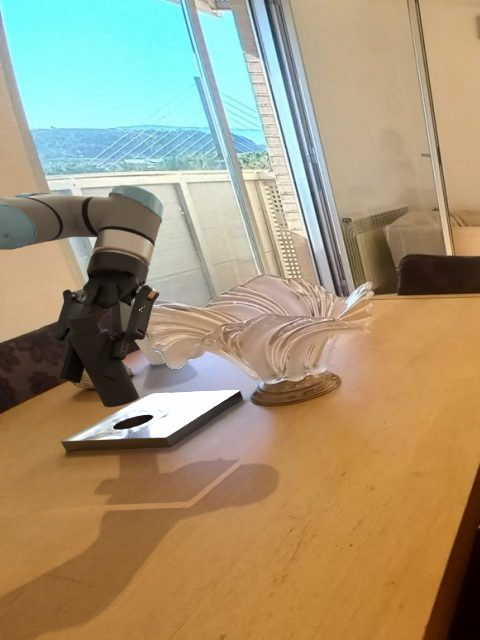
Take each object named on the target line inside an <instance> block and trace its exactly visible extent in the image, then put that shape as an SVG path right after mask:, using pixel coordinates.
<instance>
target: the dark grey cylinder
mask: <svg viewBox="0 0 480 640" xmlns="http://www.w3.org/2000/svg"><path fill="white" fill-rule="evenodd" d="M67 320H68V322H69V324H70V326H71V327H72V329H73V331H74V333H75V334H73V335H71V336H69V339H70V341H71V343H72V344H73V346H74V348H75V350H76V352H77V354H78V356H79V358H80V360H81V362H82V364H83V366H84V368H85V370H86V372H87V374H88V376H89V378H90V380H91V381H92V383H93V385H94V387H95V388H94V389H95V391H96V394H97V395H98V397H99V399H100V401H101V403H102V405H103V407H105V408H116V407H121V406H125V405H128V404H132V403H134V402H136V401H138V400H139V399H140V394H139V392H138V391H137V388H136V386H135V384H134V382H133V380H132V378H131V375H130V376H129V374H128V372H127V370H126V367H125V365H124V363H123V361H124V360H123V361H122V360H121V363H120V367H119V371H118V375H117V379H116V380H110V379H107V378H104V377H102V376H99V375H97V373H98V369H99V365H100V362H101V358H102V354H103V351H104V347H105V343H106V340H107V339H113V337H111V336H110V335H111V334H110V332H109V330H108V329H107V328H100V326H99V323H98V324H97V322H96V320H95V318H94V315H93V314H82V315H76V316H72V317H69V318H67ZM109 334H110V335H109Z"/></svg>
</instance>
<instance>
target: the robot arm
mask: <svg viewBox="0 0 480 640" xmlns="http://www.w3.org/2000/svg"><path fill="white" fill-rule="evenodd" d="M163 212H164V203H163V201H162V200H161V199H160V197H159V196H157V195H156V194H155V193H153V192H151V191H150V190H148V189H145V188H143V187H140V186H137V185H131V184H120V185H117V186H114V187H112V189H111V190H110V191H109V192H108V196H84V195H71V194H55V193H49V192H21V193H18V194H16V195H15V196H14V197H5V196H2V195H0V251H2V250H3V251H10V250H11V251H12V250H16V249H22V248H25V247H28V246H33V245H38V244H43V243H47V242H54V241H58V240H64V239H70V238H96V240H95V242H94V245H93V248H92V251H91V253H92V254H91V255H90V258H89V261H88V265H87V267H86V275H87V278H88V280H87V281H86V283H85V284H84V285H82V288H80V289H77V290H74V291H73V290H71V289H65V290H63V291H62V299H63V303H62V305H61V306H62V307H61V309H60V313H59V315H58V319H57V322H56V325H55V329H54V332H53V336H52V339H53V340H54V341H57V342H60V343H62V344H64V345H65V346H64V349H63V353H62V356H61V360H62V361H61V362H63V365H62V368H61V371H60V374H59V379H61V380H64V381H67V382H69V383H71V382H73V383H80V382H81V378H82V375H83V371H84V366H83V364H82V362H81V360H80V358H79V356H78V354H77V352H76V350H75V348H74V346H73V344H72V343H71V341H70V339H69V336H71V335H73V334H75V333H74V331H73V329H72V327H71V326H70V324H69V322H68V320H67V318H69V317H72V316H76V315H82V314H93V315H94V318H95V320H96V322H97V324H98V325H99V323H100V321H101V319H102V317H103V316H104V315H107V314H108V313H109V311H110V309H111V315H112V317H111V319H112V333H109V335H110V336H111V338H112V339H107V340H106V343H105V347H104V351H103V354H102V358H101V362H100V365H99V369H98V373H97V375H99V376H102V377H104V378H107V379H110V380H116V379H117V375H118V371H119V367H120V363H121V360H123V361H124V360H126V358H127V355H128V351H129V347H130V344H132V343H133V342H135V341H134V340H137V339H138V340H143V339H144V338H145V336H146V332H147V328H148V324H149V320H150V316H151V312H152V308H153V306H154V303H155V302H156V300H157V299H158V298H159V296H160V292H159V291H157V290H156V289H154V288H153V287H151V286H150V285H149V284H146V282H147V280H148V279H147V278H148V274H149V272H150V271H149V270H150V268H149V267H150V266H151V261H152V258H153V254H154V250H155V246H156V241H157V238H158V233H159V230H160V226H161V224H162V223H163ZM144 306H145V307H144ZM142 307H143V308H142ZM141 308H142V309H141ZM139 309H141V310H140V311H139ZM141 311H142V312H141Z"/></svg>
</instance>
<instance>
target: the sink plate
mask: <svg viewBox="0 0 480 640" xmlns="http://www.w3.org/2000/svg"><path fill="white" fill-rule="evenodd" d="M243 399H244V396H243V393H242V392H241V390H239V389H235V390H212V391H211V390H210V391H209V390H208V391H187V392H186V391H184V392H159V393H151V394H148V395H147V396H145V397H143V398H141V399H138V400H136V401H134V402H132V403H130V405H127V406H126V407H123V408H122V409H120V410H118V411H116V412H115V413H112V414H110V415H108V416H107V417H105V418H103V419H101V420H99V421H96V422H95V423H93V424H91V425H89V426H87V427H85V428H83V429H82V430H80V431H78V432H76V433H74V434H72V435H70V436H68V437H66V438H64V439H63V440H60V443H61V445H62V447H63V448H64V450H65V451H66V452H73V451H74V452H76V451H77V452H79V451H100V450H101V451H102V450H125V449H126V450H127V449H149V448H171V447H173V446H174V445H176V444H177V443H179V442H180V441H182V440H183V439H185V438H186V437H187V436H189V435H190V434H192V433H194V432H195V431H197V430H198V429H200V428H201V427H203V426H204V425H206V424H208V423H209V422H210V421H212V420H213V419H215V418H216V417H218V416H220V415H221V414H222V413H224V412H226V411H227V410H229V409H230V408H231V407H233V406H234V405H236V404H237V403H239V402H240V401H242V400H243Z"/></svg>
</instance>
